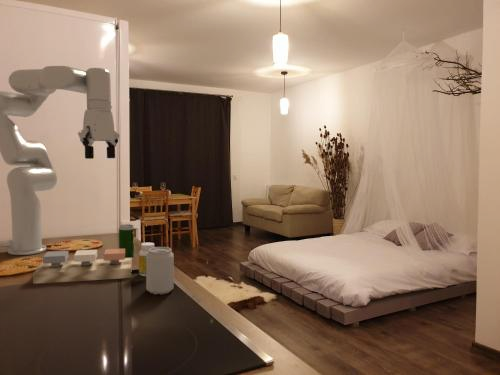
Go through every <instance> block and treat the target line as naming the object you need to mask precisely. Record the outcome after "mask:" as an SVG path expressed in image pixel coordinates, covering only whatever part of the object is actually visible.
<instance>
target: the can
mask: <svg viewBox="0 0 500 375" xmlns="http://www.w3.org/2000/svg"><path fill="white" fill-rule="evenodd" d="M174 255H175V254H174V252H172V248H171V247H167V246H154V248H151V249H149V253H148V254H147V255H146V276H145V277H146V279H145V280H146V281H145V282H146V285H145V287H146V291H147V292H149V293H150V294H151V293H153V294H152V295H157V294H160V295H165V294H169V293H170V292H172V290H173V289H174V287H175V286H174V282H175V280H174V276H175V275H174V273H175V272H174V265H175V264H174V263H175V261H174V260H175V259H174V257H175V256H174Z"/></svg>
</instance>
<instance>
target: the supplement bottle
mask: <svg viewBox="0 0 500 375" xmlns="http://www.w3.org/2000/svg"><path fill="white" fill-rule="evenodd" d="M140 246H141V250H139V253H138V273H139V275H140V276H142V277H146V255H147V254H148V253H149V249H151V248H154V247H155V243H154V242H142V243H140Z"/></svg>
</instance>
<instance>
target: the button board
mask: <svg viewBox="0 0 500 375" xmlns="http://www.w3.org/2000/svg"><path fill="white" fill-rule="evenodd" d="M132 268H133V259H132V258H125V260H119V264H111V260H104V258H98V259H97V258H96V261H91V264H90V265H82V264H81V262H74V259H73V260H66V262H63V263H61V266H60V267H51V263H43V261H42V262H41V264H39V266H38V267H37V268H36V269H35V271H34V272H33V273H32V276H33V277H32V278H33V280H32V281H33V282H32V283H33V285H34V284H51V283H70V282H81V281H82V282H83V281H98V280H101V281H102V280H115V279H116V280H117V279H131V278H132V273H133V272H132V270H133V269H132ZM131 272H132V273H131Z"/></svg>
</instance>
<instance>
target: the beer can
mask: <svg viewBox="0 0 500 375" xmlns="http://www.w3.org/2000/svg"><path fill="white" fill-rule="evenodd" d="M117 230H118V249H124V248H125V258H132V260H134V258H135V227H134V224H126V223H125V224H120V225H118V228H117Z"/></svg>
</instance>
